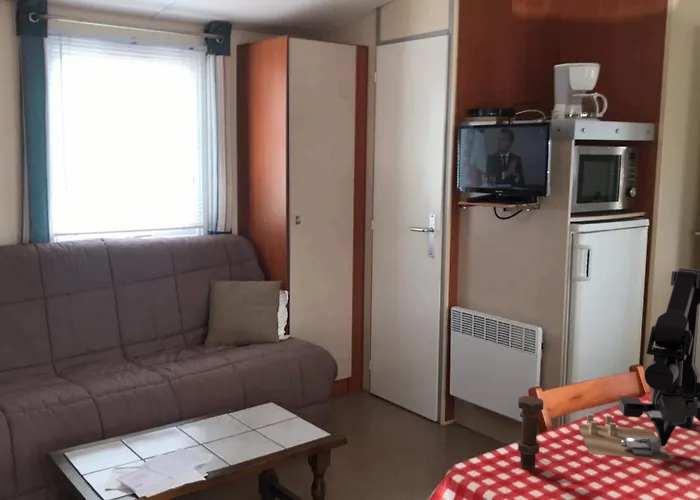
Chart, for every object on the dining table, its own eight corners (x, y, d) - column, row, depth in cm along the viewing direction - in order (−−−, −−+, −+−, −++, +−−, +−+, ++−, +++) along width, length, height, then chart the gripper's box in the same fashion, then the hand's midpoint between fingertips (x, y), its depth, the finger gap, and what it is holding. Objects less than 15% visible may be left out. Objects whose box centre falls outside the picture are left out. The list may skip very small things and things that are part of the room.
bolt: (540, 473, 148) (544, 405, 146) (515, 471, 149) (519, 403, 147) (538, 462, 154) (542, 396, 152) (515, 459, 155) (518, 394, 153)
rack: (586, 424, 174) (587, 413, 174) (610, 426, 173) (611, 415, 173) (590, 433, 168) (591, 422, 168) (615, 435, 167) (616, 424, 167)
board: (577, 427, 174) (577, 423, 174) (651, 432, 171) (651, 429, 171) (589, 456, 157) (589, 453, 157) (672, 463, 154) (672, 460, 154)
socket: (627, 444, 162) (627, 440, 162) (645, 446, 161) (646, 442, 161) (632, 454, 156) (633, 450, 156) (651, 456, 156) (652, 452, 155)
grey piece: (656, 449, 159) (657, 437, 159) (659, 454, 157) (660, 442, 156) (619, 446, 161) (620, 435, 160) (622, 451, 158) (623, 439, 157)
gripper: (631, 387, 149) (627, 457, 151) (725, 392, 146) (720, 464, 148) (620, 372, 160) (616, 437, 162) (707, 376, 157) (702, 443, 159)
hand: (662, 445), depth 158 cm, fingers closed
